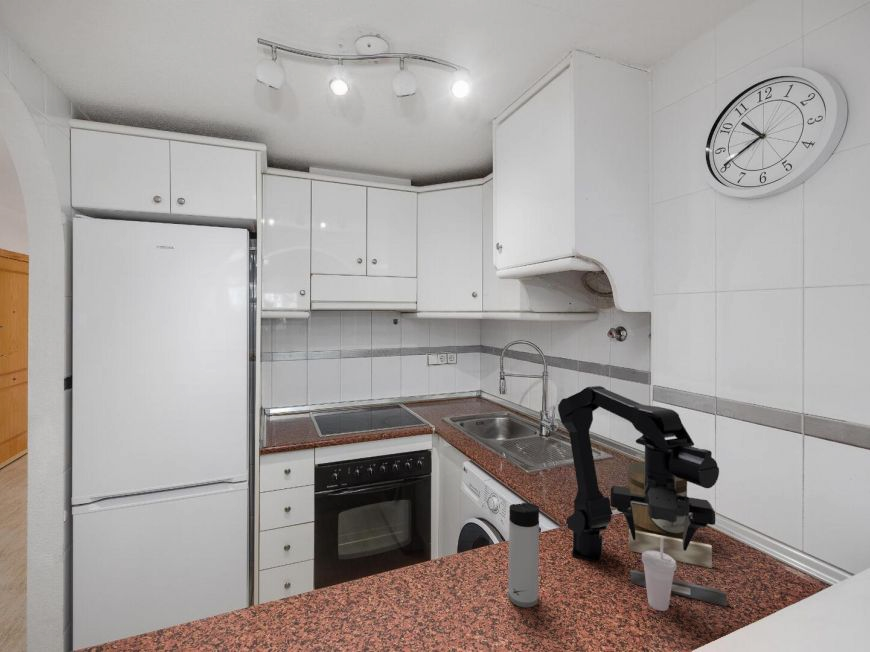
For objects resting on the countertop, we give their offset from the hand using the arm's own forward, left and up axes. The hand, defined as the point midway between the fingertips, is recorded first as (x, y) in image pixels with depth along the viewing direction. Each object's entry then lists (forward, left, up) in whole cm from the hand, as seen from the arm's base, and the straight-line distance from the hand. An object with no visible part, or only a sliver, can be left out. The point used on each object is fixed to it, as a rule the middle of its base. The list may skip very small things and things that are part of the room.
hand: (658, 544), depth 85 cm
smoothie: (0, 0, -13) cm, 13 cm away
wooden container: (+2, +32, -13) cm, 34 cm away
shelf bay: (+4, +13, -13) cm, 18 cm away
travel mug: (-26, -10, -13) cm, 31 cm away
